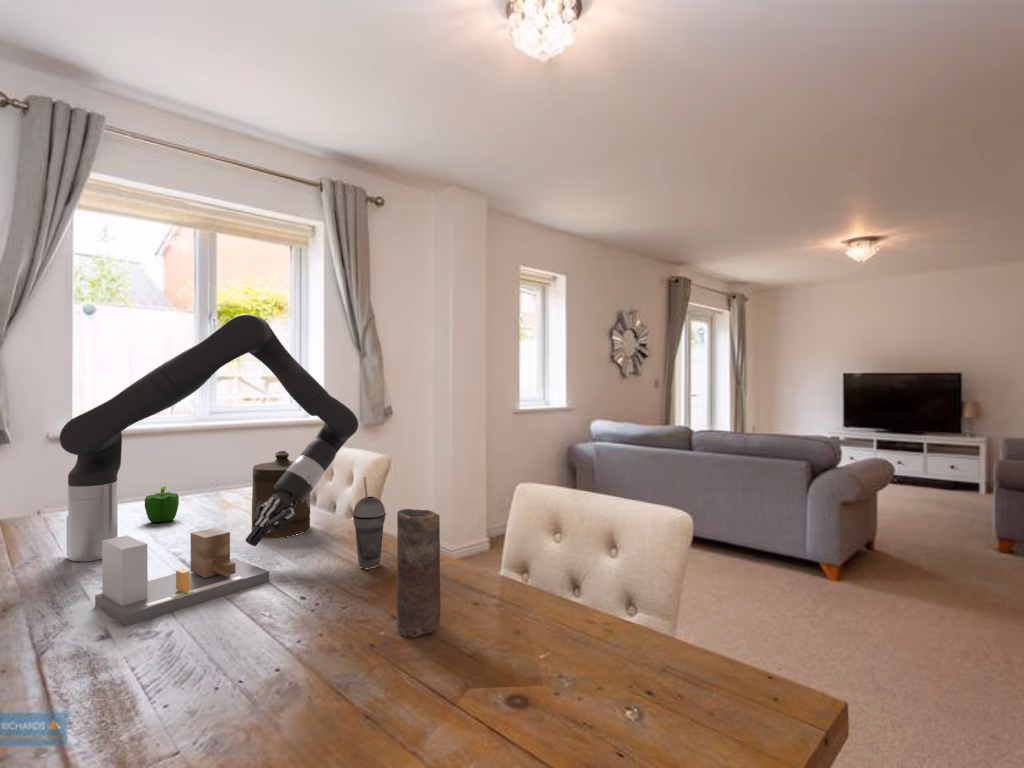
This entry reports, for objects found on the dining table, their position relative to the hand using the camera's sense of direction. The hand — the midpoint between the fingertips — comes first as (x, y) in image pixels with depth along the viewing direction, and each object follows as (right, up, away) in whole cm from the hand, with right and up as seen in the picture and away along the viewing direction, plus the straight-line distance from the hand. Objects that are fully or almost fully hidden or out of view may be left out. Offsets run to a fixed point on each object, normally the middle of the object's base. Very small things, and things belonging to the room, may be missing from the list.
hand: (250, 543), depth 122 cm
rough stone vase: (+41, -7, -27) cm, 50 cm away
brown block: (-3, -4, -8) cm, 10 cm away
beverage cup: (+25, -6, +4) cm, 26 cm away
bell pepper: (-44, -5, +40) cm, 60 cm away
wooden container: (-6, -6, +31) cm, 32 cm away
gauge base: (-6, -6, -12) cm, 15 cm away
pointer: (-4, -4, -17) cm, 18 cm away
